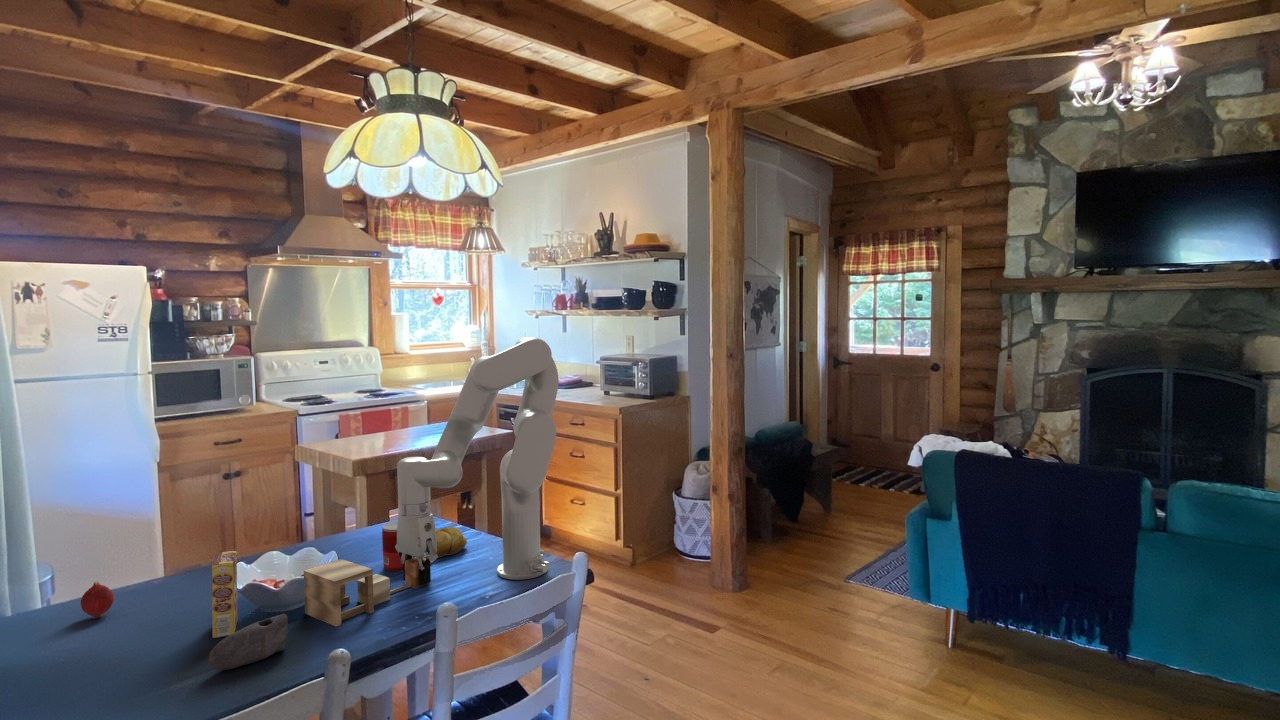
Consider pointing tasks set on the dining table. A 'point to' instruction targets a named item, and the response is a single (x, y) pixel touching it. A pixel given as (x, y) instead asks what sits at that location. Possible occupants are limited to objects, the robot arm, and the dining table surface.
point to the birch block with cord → (383, 583)
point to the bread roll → (449, 541)
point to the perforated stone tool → (250, 643)
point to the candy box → (224, 594)
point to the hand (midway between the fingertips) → (416, 580)
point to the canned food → (391, 548)
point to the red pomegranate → (97, 600)
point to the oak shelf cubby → (335, 590)
